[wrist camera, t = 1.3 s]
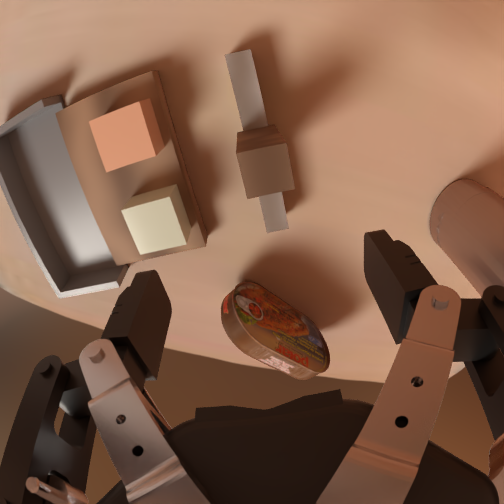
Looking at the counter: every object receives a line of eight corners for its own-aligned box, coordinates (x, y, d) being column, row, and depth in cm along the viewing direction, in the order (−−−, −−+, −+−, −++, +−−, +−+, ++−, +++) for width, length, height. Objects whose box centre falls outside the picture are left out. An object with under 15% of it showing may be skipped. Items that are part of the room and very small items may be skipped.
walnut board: (157, 70, 23) (151, 70, 21) (207, 236, 32) (205, 246, 30) (65, 109, 24) (55, 113, 22) (122, 255, 33) (117, 265, 31)
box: (61, 94, 23) (41, 99, 20) (128, 268, 34) (119, 287, 31) (3, 130, 24) (-17, 138, 21) (70, 280, 34) (59, 298, 31)
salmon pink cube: (150, 98, 22) (139, 101, 20) (164, 147, 25) (156, 156, 22) (103, 115, 23) (88, 121, 20) (118, 161, 25) (106, 172, 23)
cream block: (176, 183, 27) (169, 196, 24) (191, 227, 29) (186, 244, 26) (131, 196, 27) (121, 210, 24) (148, 238, 29) (140, 254, 27)
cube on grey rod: (255, 51, 23) (263, 37, 14) (289, 213, 31) (308, 272, 22) (220, 58, 23) (209, 48, 14) (259, 219, 31) (267, 281, 23)
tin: (325, 328, 40) (338, 379, 32) (307, 341, 41) (317, 392, 34) (236, 267, 34) (235, 323, 27) (218, 285, 35) (213, 341, 28)
